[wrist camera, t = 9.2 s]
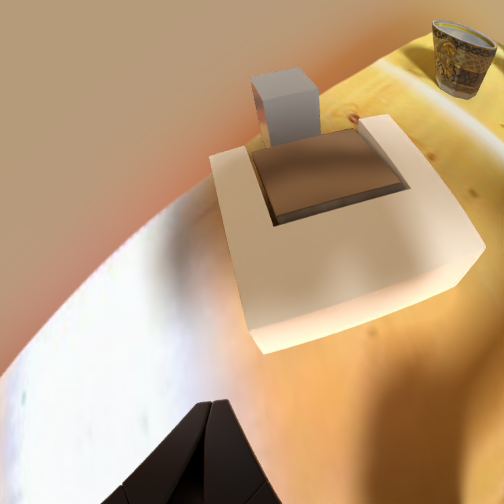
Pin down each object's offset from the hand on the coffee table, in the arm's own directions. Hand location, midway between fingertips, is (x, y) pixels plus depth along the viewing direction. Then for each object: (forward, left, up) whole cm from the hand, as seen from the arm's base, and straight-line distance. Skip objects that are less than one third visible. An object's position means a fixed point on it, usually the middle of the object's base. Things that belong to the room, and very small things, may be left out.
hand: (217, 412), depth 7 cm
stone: (+25, -8, -10) cm, 28 cm away
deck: (+12, -8, -14) cm, 20 cm away
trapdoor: (+15, -8, -9) cm, 19 cm away
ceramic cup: (+31, -36, -14) cm, 50 cm away
